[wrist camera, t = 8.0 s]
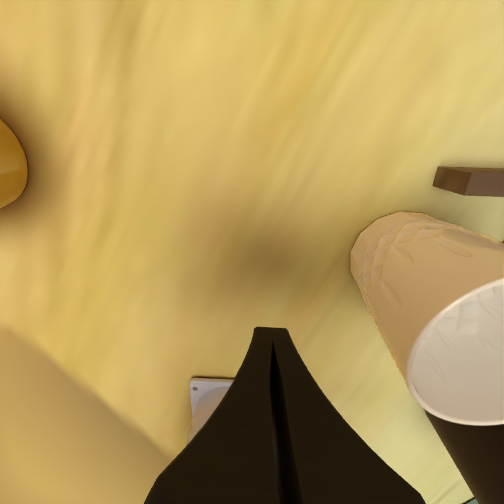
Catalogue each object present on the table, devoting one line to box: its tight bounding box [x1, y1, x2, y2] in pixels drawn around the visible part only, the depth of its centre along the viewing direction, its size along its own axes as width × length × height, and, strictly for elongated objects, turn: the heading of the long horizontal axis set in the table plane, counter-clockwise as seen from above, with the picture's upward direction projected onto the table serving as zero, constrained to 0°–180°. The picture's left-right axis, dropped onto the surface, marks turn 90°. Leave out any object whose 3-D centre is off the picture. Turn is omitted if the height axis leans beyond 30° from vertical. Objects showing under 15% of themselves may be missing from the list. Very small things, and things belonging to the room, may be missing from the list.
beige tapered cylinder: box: [350, 211, 504, 426], centre depth 15 cm, size 8×8×10 cm
